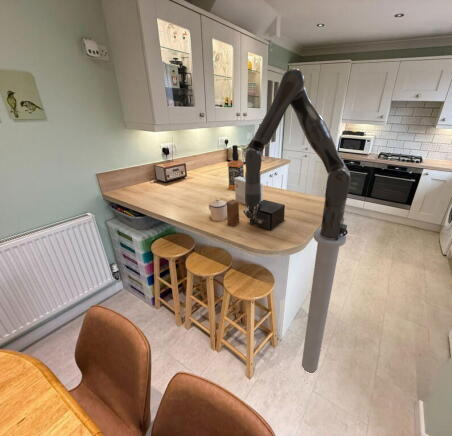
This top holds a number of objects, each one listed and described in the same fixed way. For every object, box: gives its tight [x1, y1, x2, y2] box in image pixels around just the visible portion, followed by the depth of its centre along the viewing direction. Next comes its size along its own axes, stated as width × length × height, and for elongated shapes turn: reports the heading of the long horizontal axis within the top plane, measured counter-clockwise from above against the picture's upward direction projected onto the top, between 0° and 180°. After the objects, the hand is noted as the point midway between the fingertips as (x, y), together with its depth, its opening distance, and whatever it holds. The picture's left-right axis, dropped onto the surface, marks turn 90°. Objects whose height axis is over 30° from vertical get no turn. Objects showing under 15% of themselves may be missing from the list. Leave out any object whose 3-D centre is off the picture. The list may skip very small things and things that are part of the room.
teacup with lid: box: [208, 198, 227, 222], centre depth 131 cm, size 12×9×12 cm
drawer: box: [248, 212, 271, 230], centre depth 123 cm, size 16×12×8 cm
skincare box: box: [234, 176, 264, 206], centre depth 148 cm, size 21×6×16 cm, turn 45°
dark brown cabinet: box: [255, 199, 286, 231], centre depth 126 cm, size 14×14×10 cm
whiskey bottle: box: [227, 144, 245, 191], centre depth 172 cm, size 10×10×32 cm
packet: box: [225, 198, 240, 227], centre depth 123 cm, size 4×5×13 cm
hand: (253, 224), depth 116 cm, fingers closed
